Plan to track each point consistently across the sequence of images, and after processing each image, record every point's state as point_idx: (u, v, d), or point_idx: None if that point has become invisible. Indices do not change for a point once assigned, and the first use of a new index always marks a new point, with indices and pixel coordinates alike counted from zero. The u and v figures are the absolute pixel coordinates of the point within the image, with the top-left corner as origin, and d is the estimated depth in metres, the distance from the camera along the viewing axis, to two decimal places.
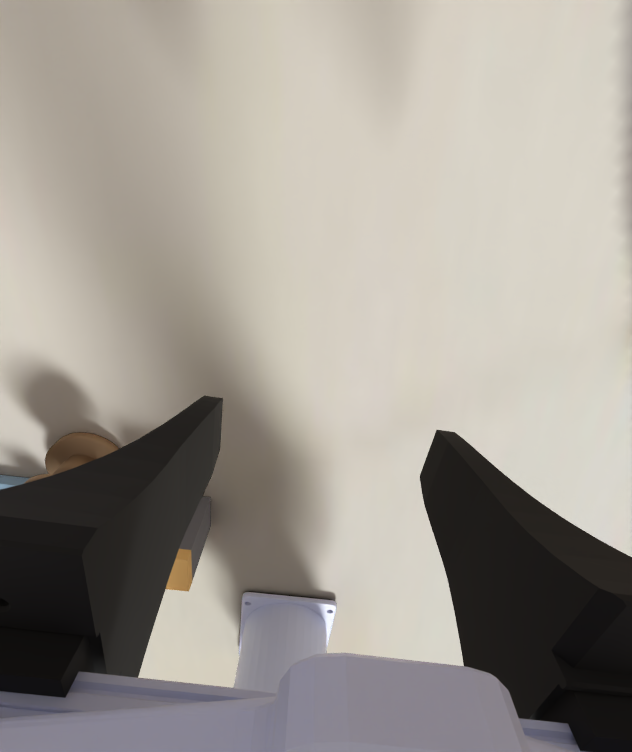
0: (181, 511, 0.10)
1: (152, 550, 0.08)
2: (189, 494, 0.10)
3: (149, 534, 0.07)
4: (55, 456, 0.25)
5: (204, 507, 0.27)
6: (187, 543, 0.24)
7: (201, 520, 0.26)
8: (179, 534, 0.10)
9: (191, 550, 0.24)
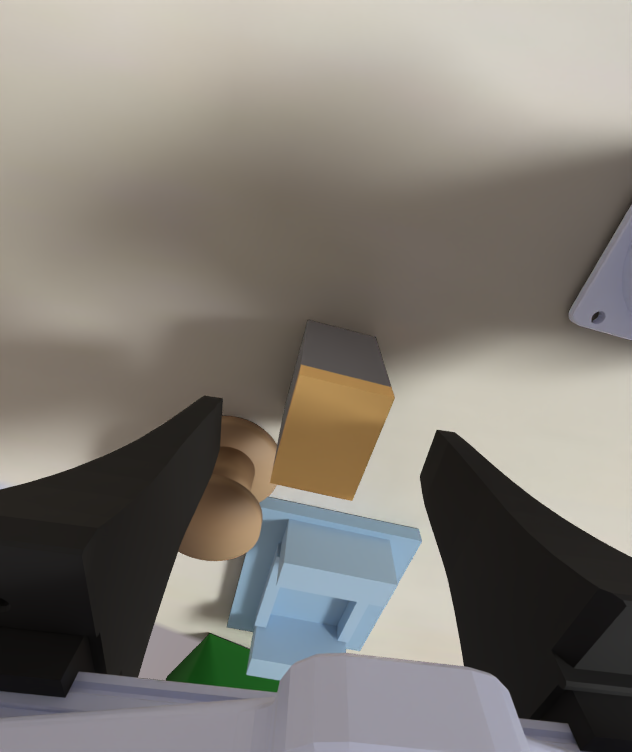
0: (181, 511, 0.10)
1: (152, 550, 0.08)
2: (189, 494, 0.10)
3: (149, 534, 0.07)
4: None
5: (305, 331, 0.15)
6: (299, 368, 0.12)
7: (305, 338, 0.14)
8: (179, 534, 0.10)
9: (305, 364, 0.12)
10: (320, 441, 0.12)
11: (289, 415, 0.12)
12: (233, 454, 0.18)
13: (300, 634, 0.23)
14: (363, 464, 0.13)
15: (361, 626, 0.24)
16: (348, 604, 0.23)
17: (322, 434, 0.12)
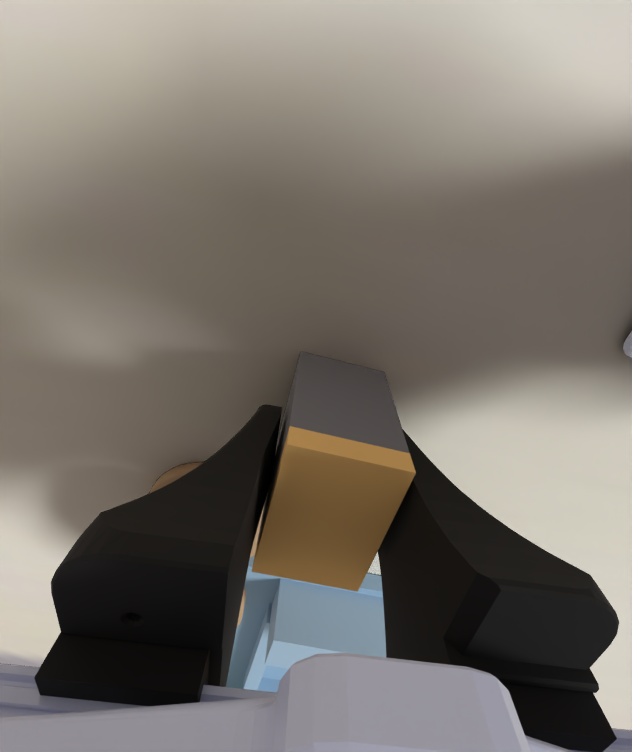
0: (255, 520, 0.10)
1: (243, 561, 0.08)
2: (259, 503, 0.10)
3: (245, 546, 0.08)
4: None
5: (297, 368, 0.12)
6: (288, 427, 0.09)
7: (297, 381, 0.11)
8: (251, 543, 0.10)
9: (296, 425, 0.09)
10: (316, 524, 0.09)
11: (274, 493, 0.09)
12: None
13: None
14: (372, 550, 0.10)
15: None
16: None
17: (319, 516, 0.09)
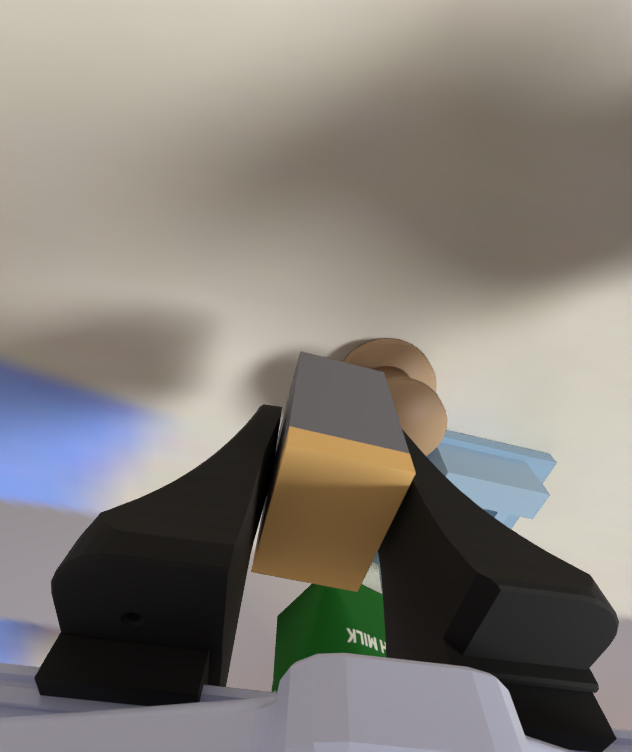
0: (255, 521, 0.10)
1: (243, 561, 0.08)
2: (259, 503, 0.10)
3: (245, 546, 0.08)
4: None
5: (297, 368, 0.12)
6: (287, 428, 0.09)
7: (297, 381, 0.11)
8: (251, 543, 0.10)
9: (296, 425, 0.09)
10: (316, 524, 0.09)
11: (274, 494, 0.09)
12: (400, 371, 0.19)
13: None
14: (372, 551, 0.10)
15: None
16: None
17: (319, 516, 0.09)
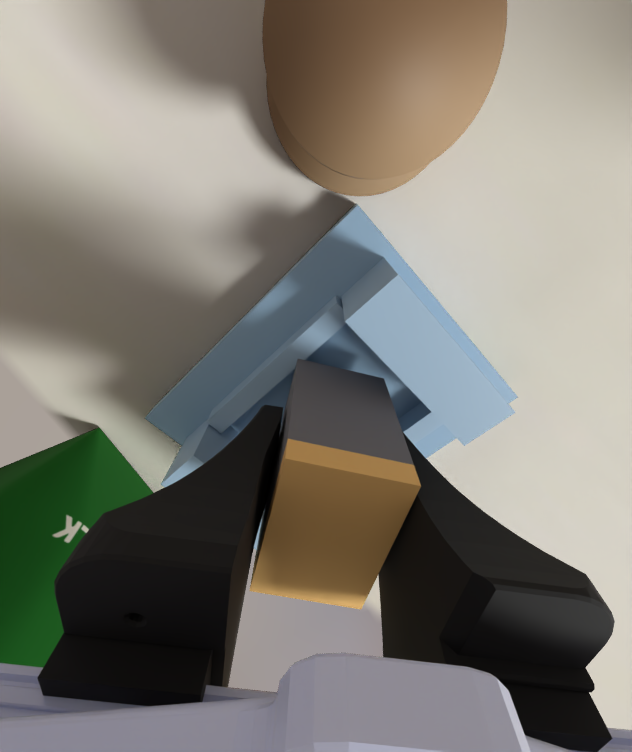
0: (256, 521, 0.10)
1: (245, 562, 0.08)
2: (261, 503, 0.10)
3: (247, 546, 0.08)
4: None
5: (294, 376, 0.12)
6: (286, 439, 0.09)
7: (295, 390, 0.11)
8: (253, 543, 0.10)
9: (294, 438, 0.09)
10: (317, 541, 0.09)
11: (272, 510, 0.09)
12: None
13: None
14: (376, 567, 0.09)
15: None
16: None
17: (320, 532, 0.09)
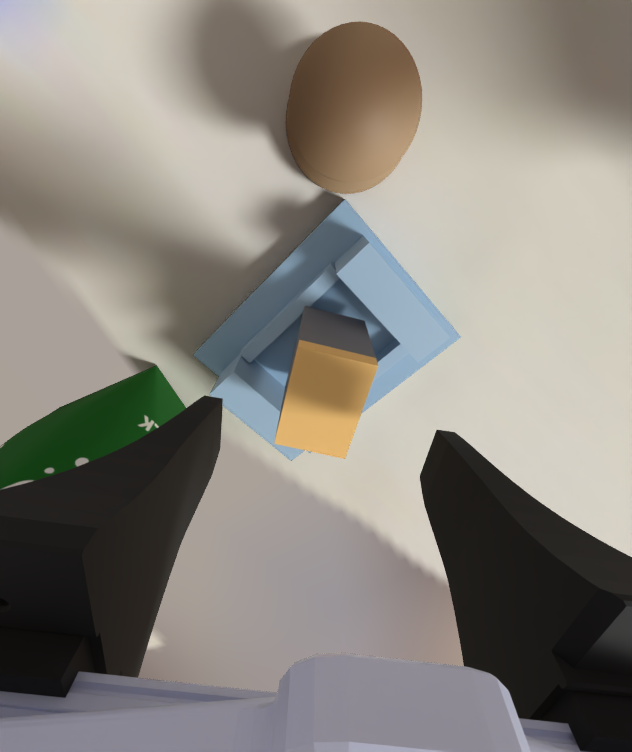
0: (181, 511, 0.10)
1: (152, 550, 0.08)
2: (189, 494, 0.10)
3: (149, 534, 0.07)
4: None
5: (302, 315, 0.17)
6: (297, 343, 0.15)
7: (303, 320, 0.16)
8: (179, 534, 0.10)
9: (303, 339, 0.14)
10: (316, 405, 0.15)
11: (290, 382, 0.14)
12: None
13: (278, 390, 0.20)
14: (353, 425, 0.15)
15: None
16: None
17: (318, 399, 0.14)
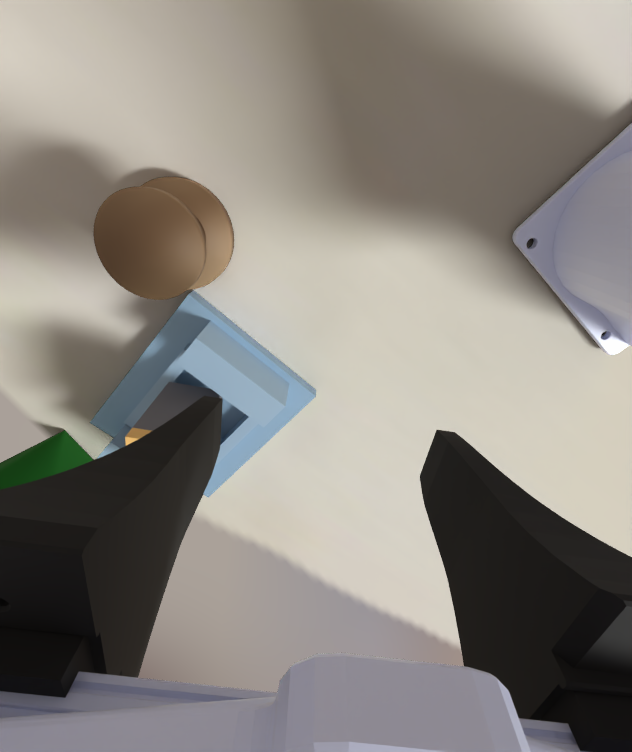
0: (181, 511, 0.10)
1: (152, 550, 0.08)
2: (189, 494, 0.10)
3: (149, 534, 0.07)
4: None
5: None
6: None
7: (154, 401, 0.19)
8: (179, 534, 0.10)
9: (136, 427, 0.17)
10: None
11: None
12: None
13: None
14: None
15: (222, 469, 0.25)
16: (222, 439, 0.24)
17: None
